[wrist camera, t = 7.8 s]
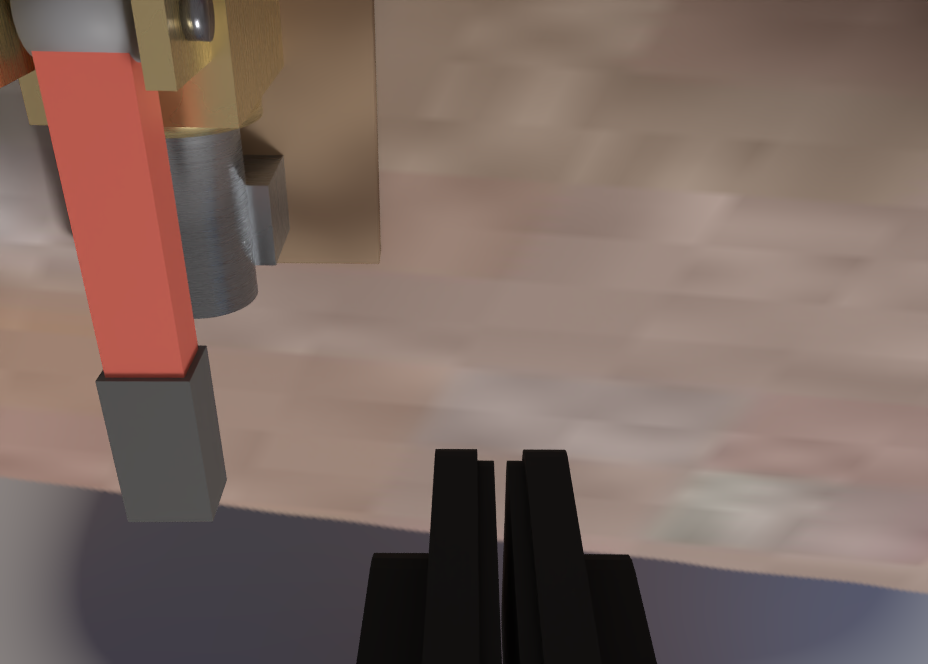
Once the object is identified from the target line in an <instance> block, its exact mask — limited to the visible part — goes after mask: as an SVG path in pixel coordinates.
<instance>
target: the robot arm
mask: <svg viewBox="0 0 928 664" xmlns="http://www.w3.org/2000/svg"><path fill="white" fill-rule="evenodd" d="M502 651H503V664H657V662H656V658H655V653H654V649H653V645H652V641H651V637H650V632H649V628H648V624H647V620H646V615H645V611H644V607H643V603H642V599H641V594H640V590H639V586H638V582H637V577H636V573H635V569H634V566H633V563H632V559H631V558H630V556H629V555H615V554H584V553H583V547H582V541H581V535H580V529H579V523H578V517H577V511H576V505H575V499H574V493H573V487H572V481H571V474H570V468H569V462H568V457H567V452H566V450H523V455H522V461H507V466H506V494H505V523H504V552H503V581H502ZM356 664H502V656H501V630H500V607H499V579H498V553H497V528H496V502H495V477H494V461H477V449H436V450H435V463H434V479H433V495H432V511H431V527H430V543H429V553H374V554H373V557H372V561H371V567H370V574H369V580H368V587H367V594H366V601H365V608H364V615H363V621H362V628H361V635H360V643H359V649H358V656H357V663H356Z"/></svg>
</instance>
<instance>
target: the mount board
mask: <svg viewBox="0 0 928 664" xmlns="http://www.w3.org/2000/svg"><path fill="white" fill-rule="evenodd" d="M279 7H280V19H281V32H282V44H283V56H284V67H283V68H282V70H281V71H280V72H279V74H278V75H277V76H276V78H275V79H274V81H273V82H272V83H271V85H270V86H269V88H268V89H267V90H266V92H265V93H264V94H263V96H262V107H263V115H262V117H261V118H260V119H259V120H257V121H256V122H254V123H252V124H250V125H248V126H245V127H242V128H240V135H241V144H242V153H243V155H284V166H285V177H286V189H287V200H288V212H289V223H290V230H289V233H288V235H287V238H286V240H285V243H284V246H283V248H282V251H281V253H280V256H279V259H278V261H277V263H344V264H379V262H380V254H381V242H380V205H379V168H378V131H377V93H376V56H375V19H374V0H279Z"/></svg>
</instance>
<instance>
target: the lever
mask: <svg viewBox="0 0 928 664" xmlns="http://www.w3.org/2000/svg"><path fill="white" fill-rule="evenodd" d="M10 5H11V11H12V16H13V21H14V24H15V28H16V31H17V33H18V36H19V38H20V40H21V42H22V44H23V46H24V48H25V49H26V50H27V52H28V53H29V54H30V55H31V56H32V57H33V61H34V65H35V70H36V74H37V78H38V83H39V87H40V92H41V96H42V101H43V105H44V109H45V114H46V118H47V123H48V127H49V131H50V136H51V140H52V145H53V149H54V154H55V158H56V162H57V167H58V171H59V176H60V180H61V184H62V189H63V193H64V198H65V202H66V207H67V211H68V215H69V220H70V224H71V229H72V233H73V238H74V242H75V246H76V251H77V255H78V260H79V264H80V268H81V273H82V277H83V282H84V286H85V291H86V295H87V299H88V304H89V308H90V313H91V317H92V322H93V326H94V330H95V335H96V339H97V344H98V348H99V352H100V357H101V361H102V366H103V371H102V372H101V374H100V375H99V377H98V378H97V380H96V381H95V382H96V386H97V390H98V395H99V399H100V403H101V407H102V412H103V416H104V420H105V425H106V429H107V433H108V437H109V442H110V446H111V450H112V454H113V459H114V463H115V467H116V472H117V476H118V480H119V484H120V489H121V493H122V497H123V501H124V506H125V510H126V514H127V518H128V522H189V521H190V522H203V521H204V522H205V521H213V520H214V517H215V514H216V511H217V508H218V505H219V502H220V499H221V496H222V493H223V490H224V487H225V484H226V481H227V478H226V471H225V465H224V458H223V451H222V445H221V438H220V431H219V425H218V418H217V411H216V405H215V398H214V391H213V385H212V378H211V371H210V365H209V358H208V351H207V346H198V344H197V337H196V331H195V325H194V318H193V312H192V305H191V299H190V293H189V286H188V280H187V273H186V267H185V261H184V254H183V248H182V241H181V235H180V229H179V222H178V216H177V209H176V203H175V197H174V190H173V184H172V177H171V171H170V165H169V158H168V152H167V145H166V139H165V133H164V126H163V120H162V113H161V107H160V101H159V94H158V91H146V89H145V83H144V77H143V71H142V65H141V59H140V53H139V47H138V41H137V35H136V29H135V23H134V17H133V11H132V5H131V0H10Z"/></svg>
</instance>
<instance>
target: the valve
mask: <svg viewBox="0 0 928 664" xmlns="http://www.w3.org/2000/svg"><path fill="white" fill-rule="evenodd" d="M131 5H132V11H133V17H134V23H135V29H136V35H137V41H138V47H139V53H140V59H141V65H142V71H143V77H144V83H145V89H146V91H158V94H159V101H160V107H161V113H162V120H163V126H164V133H165V139H166V145H167V152H168V158H169V165H170V171H171V177H172V184H173V190H174V197H175V203H176V209H177V216H178V222H179V229H180V235H181V241H182V248H183V254H184V261H185V267H186V273H187V280H188V286H189V293H190V299H191V305H192V312H193V318H194V319H200V318H211V317H217V316H222V315H226V314H229V313H232V312H235V311H238V310H240V309H242V308H244V307H246V306H247V305H249V304H250V303H251V302H252V301H253V300H254V299H255V298H256V296H257V294H258V286H257V278H256V269H255V265H276V264H277V261H278V259H279V256H280V253H281V251H282V248H283V246H284V243H285V240H286V238H287V235H288V233H289V230H290V223H289V212H288V200H287V189H286V177H285V166H284V155H243V153H242V144H241V135H240V128H242V127H245V126H248V125H250V124H252V123H254V122H256V121H257V120H259V119H260V118H261V117H262V115H263V107H262V96H263V94H264V93H265V92H266V90H267V89H268V88H269V86H270V85H271V83H272V82H273V81H274V79H275V78H276V76H277V75H278V74H279V72H280V71H281V70H282V68H283V67H284V56H283V44H282V32H281V19H280V7H279V0H131ZM17 79H19V83H20V87H21V91H22V95H23V99H24V104H25V108H26V112H27V116H28V120H29V124H30V125H48V123H47V118H46V114H45V109H44V105H43V101H42V96H41V92H40V87H39V83H38V78H37V74H36V70H35V65H34V61H33V57H32V56H31V55H30V54H29V53H28V52H27V50H26V49H25V48H24V46H23V44H22V42H21V40H20V38H19V36H18V33H17V31H16V28H15V24H14V21H13V16H12V11H11V5H10V0H0V88H1V87H3V86H5V85H7V84H9V83H11V82H13V81H15V80H17Z"/></svg>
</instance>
